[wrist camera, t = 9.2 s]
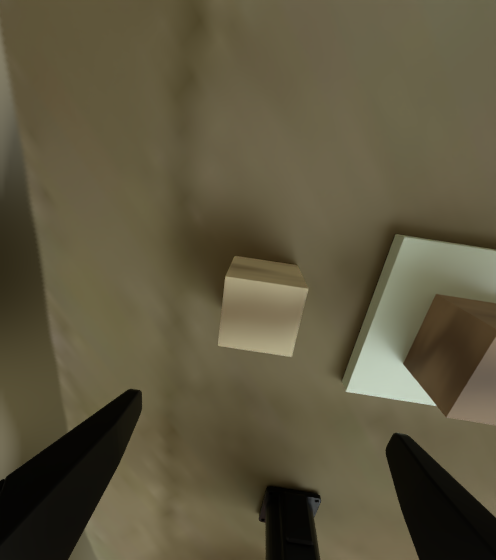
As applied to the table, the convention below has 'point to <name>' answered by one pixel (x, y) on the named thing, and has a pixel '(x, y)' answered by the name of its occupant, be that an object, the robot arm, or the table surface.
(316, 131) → the table surface
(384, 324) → the plate
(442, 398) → the walnut block
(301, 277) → the maple block
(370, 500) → the table surface
